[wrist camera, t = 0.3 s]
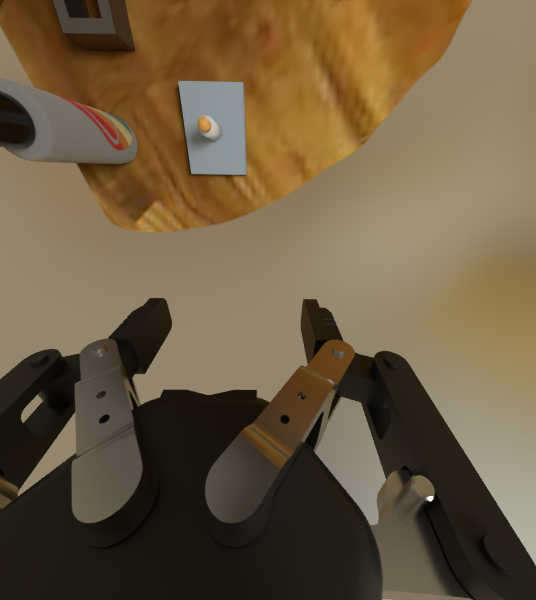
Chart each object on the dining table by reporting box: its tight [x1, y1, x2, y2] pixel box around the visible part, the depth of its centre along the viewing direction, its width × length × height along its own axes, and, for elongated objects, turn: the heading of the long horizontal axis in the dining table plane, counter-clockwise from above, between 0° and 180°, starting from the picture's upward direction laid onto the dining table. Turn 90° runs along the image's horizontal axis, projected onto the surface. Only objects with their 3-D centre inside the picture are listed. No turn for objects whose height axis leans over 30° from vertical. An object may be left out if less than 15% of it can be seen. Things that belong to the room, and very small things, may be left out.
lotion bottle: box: [0, 78, 138, 164], centre depth 23 cm, size 6×6×20 cm
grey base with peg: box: [178, 81, 247, 175], centre depth 28 cm, size 10×8×8 cm
